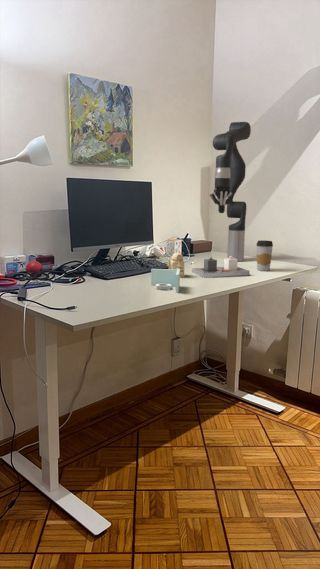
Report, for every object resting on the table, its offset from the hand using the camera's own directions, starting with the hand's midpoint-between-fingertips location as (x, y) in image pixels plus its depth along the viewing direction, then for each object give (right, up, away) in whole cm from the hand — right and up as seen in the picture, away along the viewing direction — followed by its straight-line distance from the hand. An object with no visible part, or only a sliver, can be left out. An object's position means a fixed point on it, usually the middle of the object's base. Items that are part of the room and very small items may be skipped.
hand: (221, 213), depth 231 cm
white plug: (+4, -30, -4) cm, 31 cm away
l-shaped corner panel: (-29, -38, -41) cm, 63 cm away
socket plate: (-1, -31, -6) cm, 31 cm away
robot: (-23, -33, -15) cm, 43 cm away
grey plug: (-6, -31, -8) cm, 32 cm away
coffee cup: (+23, -29, +7) cm, 37 cm away
